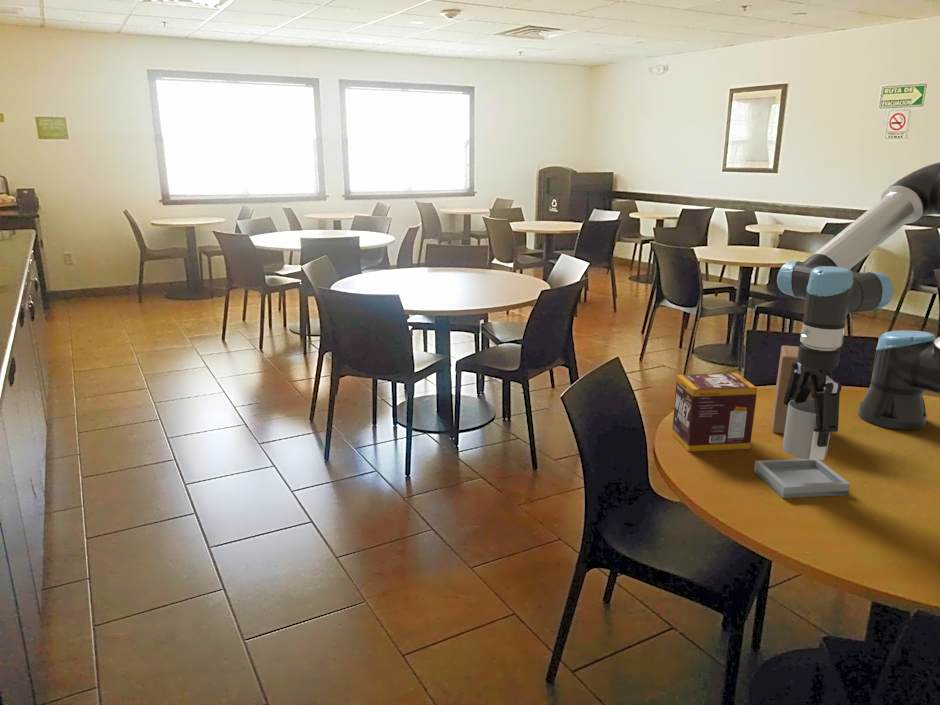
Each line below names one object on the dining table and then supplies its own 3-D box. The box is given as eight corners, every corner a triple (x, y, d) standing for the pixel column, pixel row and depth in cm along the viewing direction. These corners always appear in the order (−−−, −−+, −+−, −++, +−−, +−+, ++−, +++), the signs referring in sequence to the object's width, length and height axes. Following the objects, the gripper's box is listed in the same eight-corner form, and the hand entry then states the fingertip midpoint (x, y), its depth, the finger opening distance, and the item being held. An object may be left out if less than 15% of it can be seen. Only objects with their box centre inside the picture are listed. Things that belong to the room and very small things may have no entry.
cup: (831, 461, 139) (839, 415, 136) (787, 457, 140) (794, 412, 137) (819, 443, 146) (827, 400, 143) (778, 440, 148) (784, 397, 145)
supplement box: (670, 433, 170) (675, 374, 165) (731, 431, 171) (737, 371, 166) (686, 452, 160) (692, 389, 155) (750, 449, 161) (758, 386, 157)
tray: (814, 467, 152) (816, 457, 151) (848, 494, 140) (850, 483, 140) (753, 471, 151) (755, 460, 150) (782, 498, 139) (784, 487, 139)
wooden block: (772, 433, 170) (782, 355, 164) (771, 418, 179) (781, 344, 173) (817, 439, 166) (829, 360, 160) (814, 423, 175) (825, 348, 169)
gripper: (774, 331, 146) (761, 429, 153) (834, 362, 126) (815, 474, 133) (808, 330, 147) (793, 428, 154) (872, 361, 127) (852, 472, 133)
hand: (804, 449), depth 143 cm, fingers closed on cup, 8 cm apart
